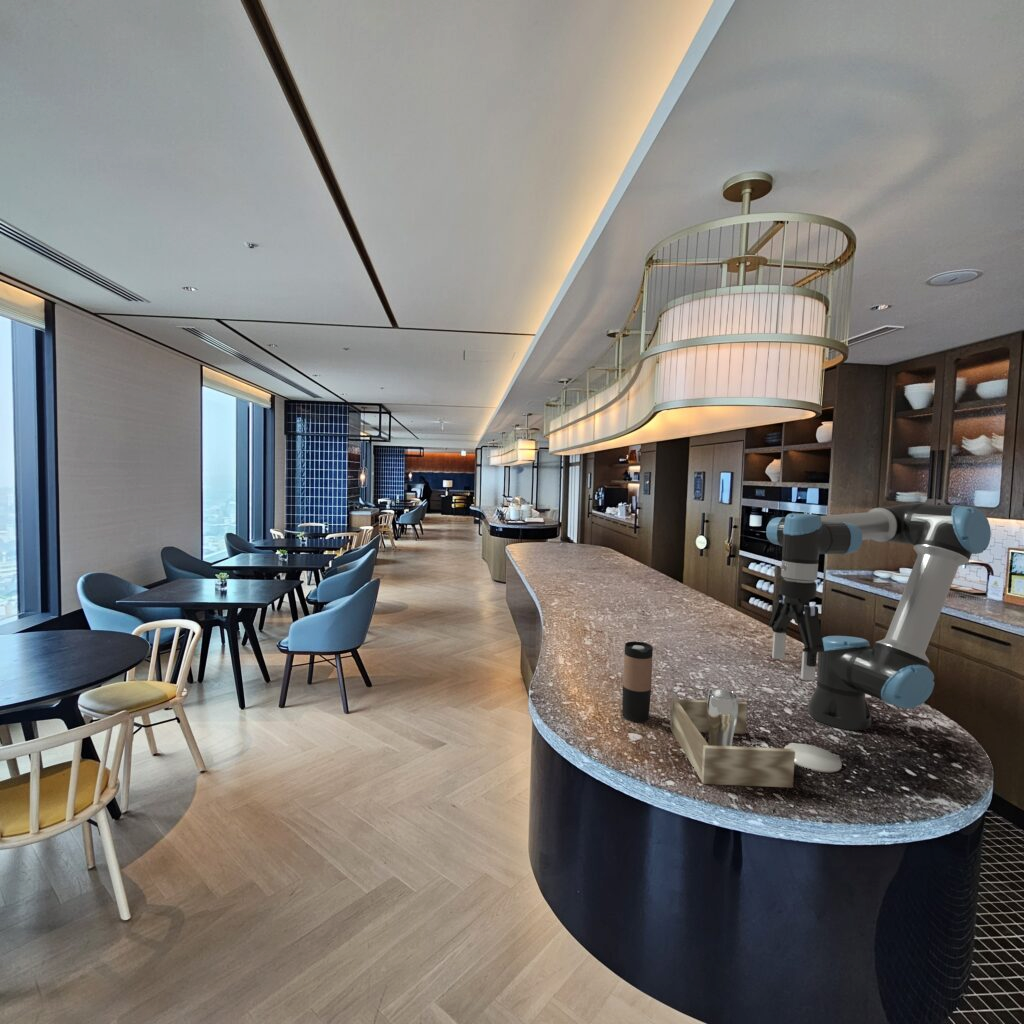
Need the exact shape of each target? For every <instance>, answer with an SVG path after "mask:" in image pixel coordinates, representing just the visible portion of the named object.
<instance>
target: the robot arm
mask: <svg viewBox="0 0 1024 1024" xmlns="http://www.w3.org/2000/svg"><path fill="white" fill-rule="evenodd" d="M988 519H989V518H988V517H987V516H986V515H985V513H984V512H983V511H982V510H981V509H979V508H977V507H973V506H966V505H965V506H964V505H959V504H958V505H957V504H956V505H952V504H950V505H948V504H931V503H930V504H929V503H927V504H926V503H908V504H907V503H906V504H899V505H893V506H892V505H891V506H883V507H875V508H872V509H870V510H869V511H867V512H856V513H855V512H853V513H842V514H829V515H818V514H811V513H787V515H786V516H783V517H779V516H778V517H774V518H771V520H769V522H768V524H767V526H766V531H765V533H766V538H767V540H768V541H769V542H770V543H771V544H773V545H777V546H780V547H782V553H781V554H782V555H781V564H780V566H779V568H780V570H781V571H780V576H781V577H782V578H781V579H780V580H779V581H780V582H779V593H778V594H777V597H776V603H775V606H774V608H773V611H772V614H771V617H770V619H769V623H768V626H769V627H770V628H772V632H773V637H772V651H771V652H772V653H771V659H773V660H785V658H786V657H785V656H786V641H787V640H786V639H787V632H788V630H787V628H788V626H789V624H790V623H791V621H792V620H793V621H794V623H795V624H797V626H798V630H799V633H800V636H801V640H802V643H803V645H804V646H803V647H804V648H803V649H802V658H801V668H800V669H801V670H800V679H801V680H803V681H805V680H807V681H815V680H816V686H815V689H814V692H813V693H812V695H811V697H810V700H809V701H808V706H807V713H808V715H809V716H810V717H812V718H813V719H814V720H816V721H818V722H820V723H823V724H825V725H827V726H830V727H834V728H837V729H838V728H839V729H842V730H843V729H844V730H849V731H864V730H865V731H866V730H868V729H870V728H871V727H872V716H871V712H870V708H869V705H868V701H867V699H866V695H869V696H871V697H874V698H875V699H878V700H880V701H882V702H884V703H886V704H888V705H891V706H895V707H897V708H901V709H906V710H907V709H908V710H911V709H915V708H917V707H918V706H919V707H920V706H921V705H922V704H924V703H925V702H926V701H927V700H928V699H929V697H930V696H931V695H932V693H933V690H934V688H935V675H934V673H933V671H932V670H931V669H930V667H929V665H930V660H929V658H928V656H927V655H926V651H927V648H928V646H929V643H930V641H931V638H932V635H933V633H934V630H935V628H936V626H937V622H938V620H939V618H940V616H941V612H942V610H943V607H944V605H945V603H946V601H947V600H946V599H947V597H948V594H949V592H950V589H951V587H952V584H953V582H954V580H955V576H956V574H957V571H958V570H959V567H961V566H963V565H966V564H968V563H969V562H970V560H971V556H972V555H978V554H981V553H983V552H984V551H986V550H987V548H988V547H989V545H990V542H991V536H992V531H991V524H990V523H989V520H988ZM866 540H868V541H869V540H872V541H875V542H877V543H884V542H887V543H888V542H889V543H897V544H904V545H909V546H913V547H912V548H913V550H914V551H915V553H916V554H917V556H916V559H915V562H914V564H913V566H912V568H911V571H910V574H909V577H908V579H907V582H906V584H905V587H904V590H903V592H902V595H901V597H900V600H899V601H898V602H899V603H898V605H897V606H896V610H895V613H894V614H893V617H892V620H891V622H890V625H889V627H888V630H887V631H886V635H885V637H884V638H883V639H880V640H878V641H875V643H874V647H873V648H870V646H871V644H870V641H869V640H867V639H865V638H863V637H856V636H849V635H828V636H824V637H823V636H822V629H821V623H820V618H819V607H818V606H815V605H814V606H813V605H812V606H811V605H810V600H813V599H815V598H816V597H817V588H818V587H817V582H816V581H817V580H818V572H819V571H818V570H819V557H820V555H842V556H844V555H847V554H848V555H849V554H854V553H856V552H857V551H859V549H860V548H861V546H862V544H863V541H866ZM816 668H817V669H816ZM816 670H817V675H816ZM816 676H817V678H816Z"/></svg>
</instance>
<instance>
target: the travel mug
mask: <svg viewBox="0 0 1024 1024" xmlns="http://www.w3.org/2000/svg"><path fill="white" fill-rule="evenodd" d="M653 649H654V647H653V645H651V644H649V643H647V642H642V641H628V642H626V643H625V644H624V653H623V654H624V656H623V673H622V674H623V675H622V697H621V698H622V704H621V705H622V706H621V707H622V708H621V709H622V711H621V713H622V717H623V718H624V719H625V720H627V721H630V722H632V721H633V722H632V723H645V722H647V721H649V717H650V708H651V707H650V706H651V705H650V704H651V695H652V693H651V692H652V680H653V679H652V676H653V675H652V674H653V673H652V672H653V655H654V653H653V652H654V651H653ZM644 721H645V722H644Z"/></svg>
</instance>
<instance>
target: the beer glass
mask: <svg viewBox="0 0 1024 1024" xmlns="http://www.w3.org/2000/svg"><path fill="white" fill-rule="evenodd" d="M738 697H739V695H738V694H737V693H736V692H733V691H732V690H729V689H724V688H711V689H709V690H708V693H707V709H706V715H707V725H708V732H707V733H708V742H707V743H708V745H709V746H733V739H734V735H735V733H734V732H735V728H736V724H737V718H738V702H739V698H738Z"/></svg>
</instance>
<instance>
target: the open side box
mask: <svg viewBox="0 0 1024 1024" xmlns="http://www.w3.org/2000/svg"><path fill="white" fill-rule="evenodd" d="M706 709H707V700H706V699H705V700H704V699H701V700H700V699H679V698H674V699H673V698H671V709H670V727H669V728H670V731H671V732H672V735H673V736H674V738H675V739H676V741H677V742H678V744H679V746H680V748H681V749H682V751H683V752H684V754H685V756H686V757H687V759H688V760H689V762H690V764H691V766H692V768H693V767H694V768H693V769H694V771H695V773H696V772H697V773H696V775H698V777H699V779H700V781H701V783H702V784H703V785H717V786H719V785H721V786H722V785H723V786H741V787H742V786H744V787H745V786H746V787H748V786H749V787H770V788H771V787H773V788H794V775H795V773H794V772H795V763H794V762H795V751H794V750H793V749H785V748H781V747H760V746H759V747H758V746H757V747H756V746H755V747H753V746H735V745H734V746H733V745H732V746H709V745H708V742H707V741H706V739H705V738H704V736H703V735H702V733H708V725H707V715H706ZM747 712H748V703H747V702H746V701H738V718H737V724H736V728H735V732H734V734H743V735H744V734H745V735H746V732H747V730H746V729H747V714H748V713H747Z"/></svg>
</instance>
